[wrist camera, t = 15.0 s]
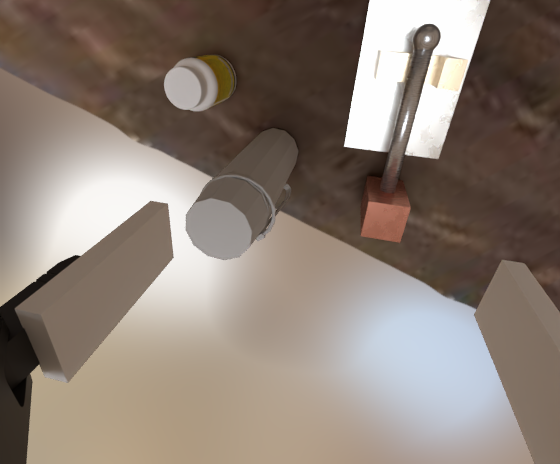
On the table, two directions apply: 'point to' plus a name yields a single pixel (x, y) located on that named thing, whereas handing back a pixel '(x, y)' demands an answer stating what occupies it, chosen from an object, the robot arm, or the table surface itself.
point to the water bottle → (243, 197)
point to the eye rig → (395, 65)
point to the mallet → (398, 150)
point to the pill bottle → (200, 82)
